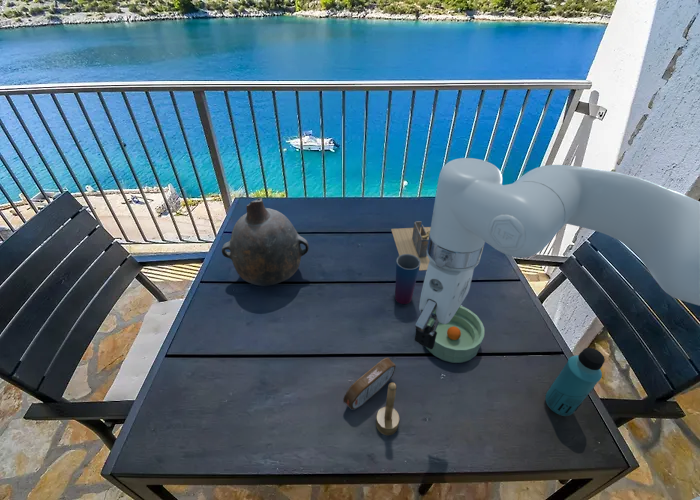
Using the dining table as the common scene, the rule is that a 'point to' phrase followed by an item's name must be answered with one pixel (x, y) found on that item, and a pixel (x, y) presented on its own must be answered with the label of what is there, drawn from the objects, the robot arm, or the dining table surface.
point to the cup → (406, 277)
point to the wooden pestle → (388, 414)
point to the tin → (369, 383)
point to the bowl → (465, 344)
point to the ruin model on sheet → (413, 242)
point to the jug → (264, 246)
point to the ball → (453, 333)
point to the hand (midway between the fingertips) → (436, 325)
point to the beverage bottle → (575, 382)
